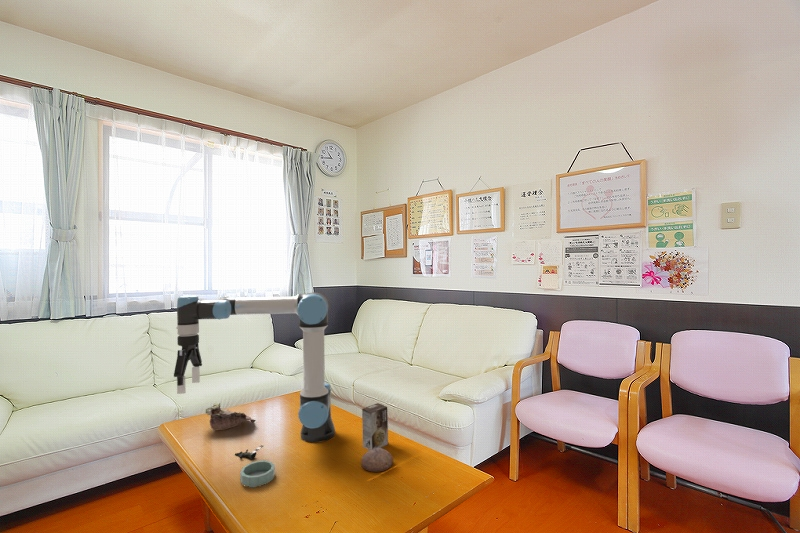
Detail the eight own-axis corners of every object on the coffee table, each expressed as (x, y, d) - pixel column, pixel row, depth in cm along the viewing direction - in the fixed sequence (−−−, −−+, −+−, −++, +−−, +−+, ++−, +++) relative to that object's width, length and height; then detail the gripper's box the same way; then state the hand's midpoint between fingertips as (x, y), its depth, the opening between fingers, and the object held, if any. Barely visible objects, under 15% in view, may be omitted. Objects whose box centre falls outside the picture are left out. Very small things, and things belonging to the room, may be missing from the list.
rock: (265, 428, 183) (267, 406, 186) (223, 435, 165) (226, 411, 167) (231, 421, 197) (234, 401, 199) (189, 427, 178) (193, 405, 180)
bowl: (277, 469, 143) (277, 459, 143) (270, 486, 131) (270, 475, 131) (245, 471, 141) (245, 461, 141) (236, 489, 130) (236, 478, 130)
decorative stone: (374, 476, 136) (374, 460, 136) (354, 465, 145) (354, 450, 145) (399, 464, 144) (398, 449, 144) (378, 454, 153) (378, 440, 153)
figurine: (251, 454, 146) (228, 450, 151) (252, 464, 147) (230, 459, 152) (263, 445, 152) (241, 441, 157) (264, 455, 152) (242, 450, 157)
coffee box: (378, 439, 166) (378, 402, 166) (388, 444, 161) (388, 406, 161) (362, 446, 160) (361, 408, 159) (372, 452, 155) (371, 412, 155)
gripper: (191, 329, 165) (192, 378, 165) (162, 341, 140) (163, 398, 140) (209, 329, 166) (210, 378, 166) (184, 340, 141) (185, 397, 141)
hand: (188, 387), depth 153 cm, fingers open, 13 cm apart
